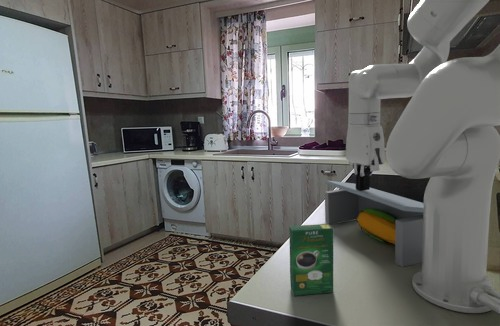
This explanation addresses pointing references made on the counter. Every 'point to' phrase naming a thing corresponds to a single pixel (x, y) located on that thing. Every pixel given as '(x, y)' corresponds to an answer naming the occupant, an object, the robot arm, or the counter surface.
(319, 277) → the coffee box
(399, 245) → the grey bridge shelf
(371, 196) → the cover
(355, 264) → the counter surface
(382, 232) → the corn
